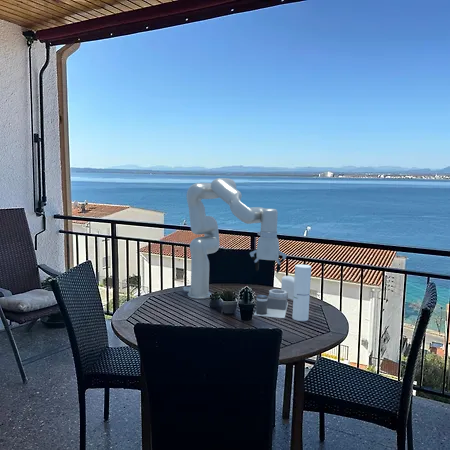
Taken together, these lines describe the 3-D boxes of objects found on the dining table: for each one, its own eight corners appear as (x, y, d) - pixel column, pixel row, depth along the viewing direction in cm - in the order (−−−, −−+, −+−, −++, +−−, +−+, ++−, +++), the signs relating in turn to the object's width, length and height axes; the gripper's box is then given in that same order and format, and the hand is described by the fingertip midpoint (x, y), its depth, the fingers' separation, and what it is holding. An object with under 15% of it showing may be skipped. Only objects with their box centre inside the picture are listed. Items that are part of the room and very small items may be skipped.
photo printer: (279, 297, 228) (280, 274, 227) (285, 296, 231) (286, 274, 229) (294, 302, 220) (295, 278, 219) (299, 300, 223) (300, 277, 221)
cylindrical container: (304, 323, 187) (307, 268, 184) (289, 320, 191) (292, 266, 188) (310, 319, 193) (313, 265, 190) (295, 316, 197) (298, 263, 194)
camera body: (266, 308, 205) (267, 294, 204) (269, 300, 219) (270, 287, 218) (285, 310, 203) (286, 296, 202) (287, 302, 217) (288, 288, 216)
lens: (255, 314, 196) (255, 296, 195) (256, 310, 201) (257, 294, 200) (266, 315, 194) (266, 297, 194) (267, 311, 199) (268, 295, 199)
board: (253, 316, 194) (253, 315, 194) (261, 301, 220) (261, 299, 220) (284, 319, 191) (284, 318, 191) (288, 303, 217) (288, 302, 217)
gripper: (248, 235, 195) (247, 271, 197) (286, 237, 190) (284, 274, 192) (252, 233, 202) (251, 268, 204) (288, 235, 197) (287, 271, 199)
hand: (267, 271), depth 198 cm, fingers open, 9 cm apart
